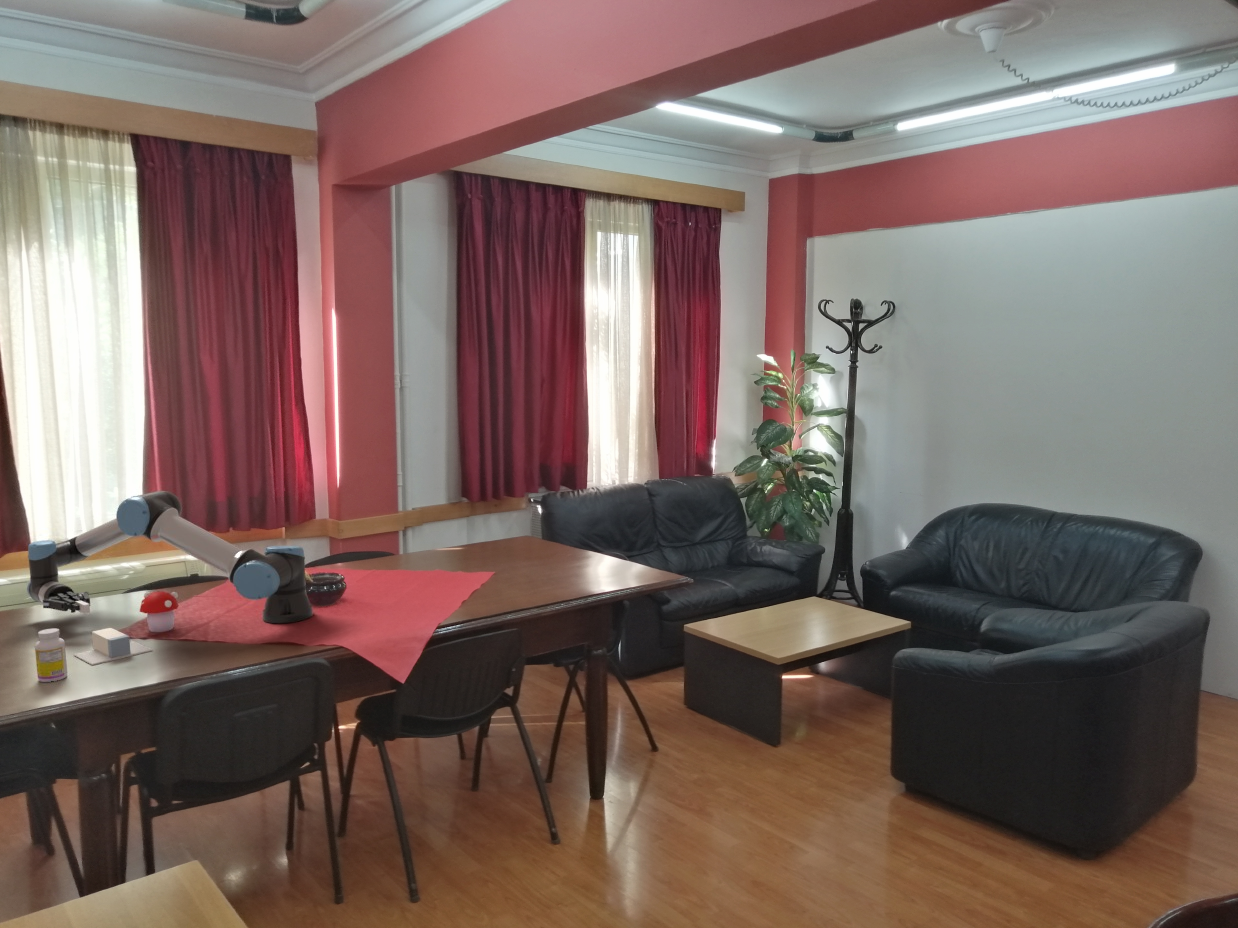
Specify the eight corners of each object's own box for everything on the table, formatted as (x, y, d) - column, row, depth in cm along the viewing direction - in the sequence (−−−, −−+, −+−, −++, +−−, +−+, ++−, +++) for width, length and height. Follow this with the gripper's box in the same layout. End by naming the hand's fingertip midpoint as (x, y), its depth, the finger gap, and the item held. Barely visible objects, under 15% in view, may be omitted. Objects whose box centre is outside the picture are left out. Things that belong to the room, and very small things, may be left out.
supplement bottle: (46, 674, 245) (42, 627, 244) (72, 673, 246) (68, 626, 244) (32, 683, 238) (28, 635, 237) (59, 682, 239) (55, 634, 237)
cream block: (111, 644, 269) (130, 653, 261) (93, 648, 265) (111, 657, 257) (110, 627, 268) (129, 636, 260) (91, 631, 265) (110, 640, 256)
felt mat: (152, 650, 264) (152, 649, 264) (92, 665, 252) (91, 663, 252) (133, 641, 272) (133, 640, 272) (73, 655, 260) (73, 654, 260)
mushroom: (188, 625, 288) (186, 588, 287) (160, 635, 278) (157, 596, 277) (161, 622, 292) (159, 585, 290) (133, 632, 281) (130, 594, 280)
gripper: (80, 603, 292) (111, 616, 277) (34, 612, 283) (63, 626, 267) (78, 579, 291) (109, 592, 276) (32, 588, 282) (61, 601, 266)
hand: (87, 608), depth 272 cm, fingers closed
